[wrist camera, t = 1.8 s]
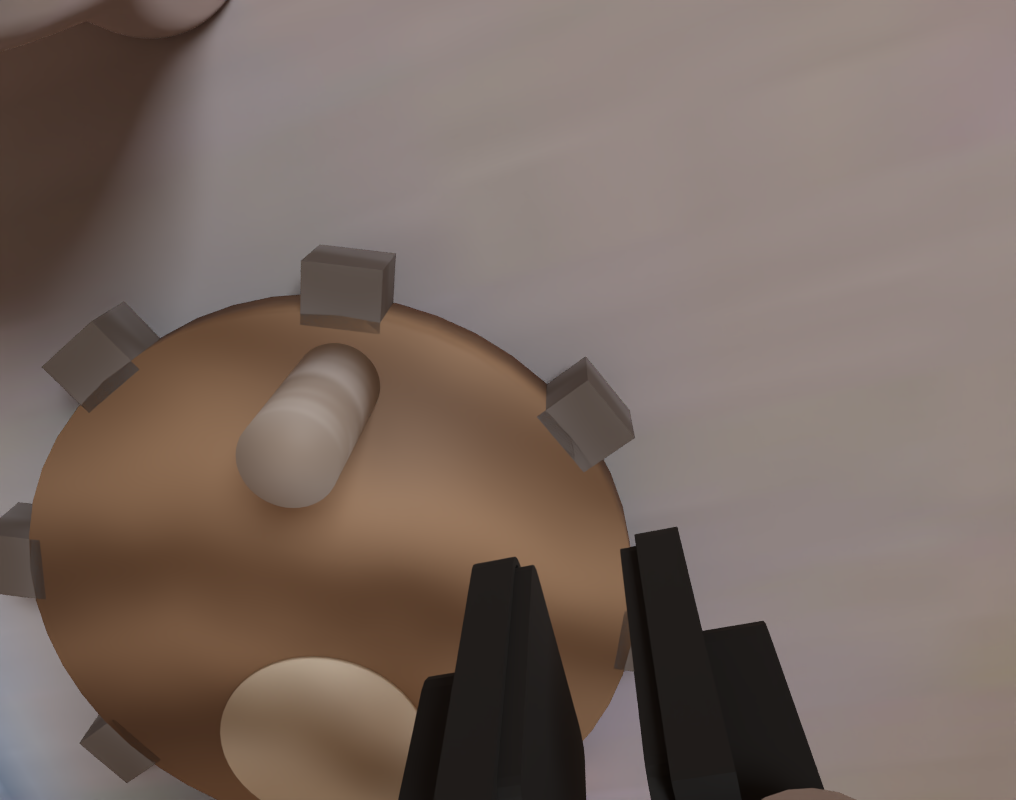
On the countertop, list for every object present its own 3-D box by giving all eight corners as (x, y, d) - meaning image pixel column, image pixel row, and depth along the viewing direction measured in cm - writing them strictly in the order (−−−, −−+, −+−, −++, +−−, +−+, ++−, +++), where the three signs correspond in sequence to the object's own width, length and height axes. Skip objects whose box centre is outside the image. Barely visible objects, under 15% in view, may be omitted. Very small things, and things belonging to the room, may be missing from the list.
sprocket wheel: (619, 848, 34) (632, 1040, 27) (51, 777, 34) (-69, 951, 27) (735, 293, 25) (795, 380, 19) (-17, 204, 26) (-212, 260, 19)
